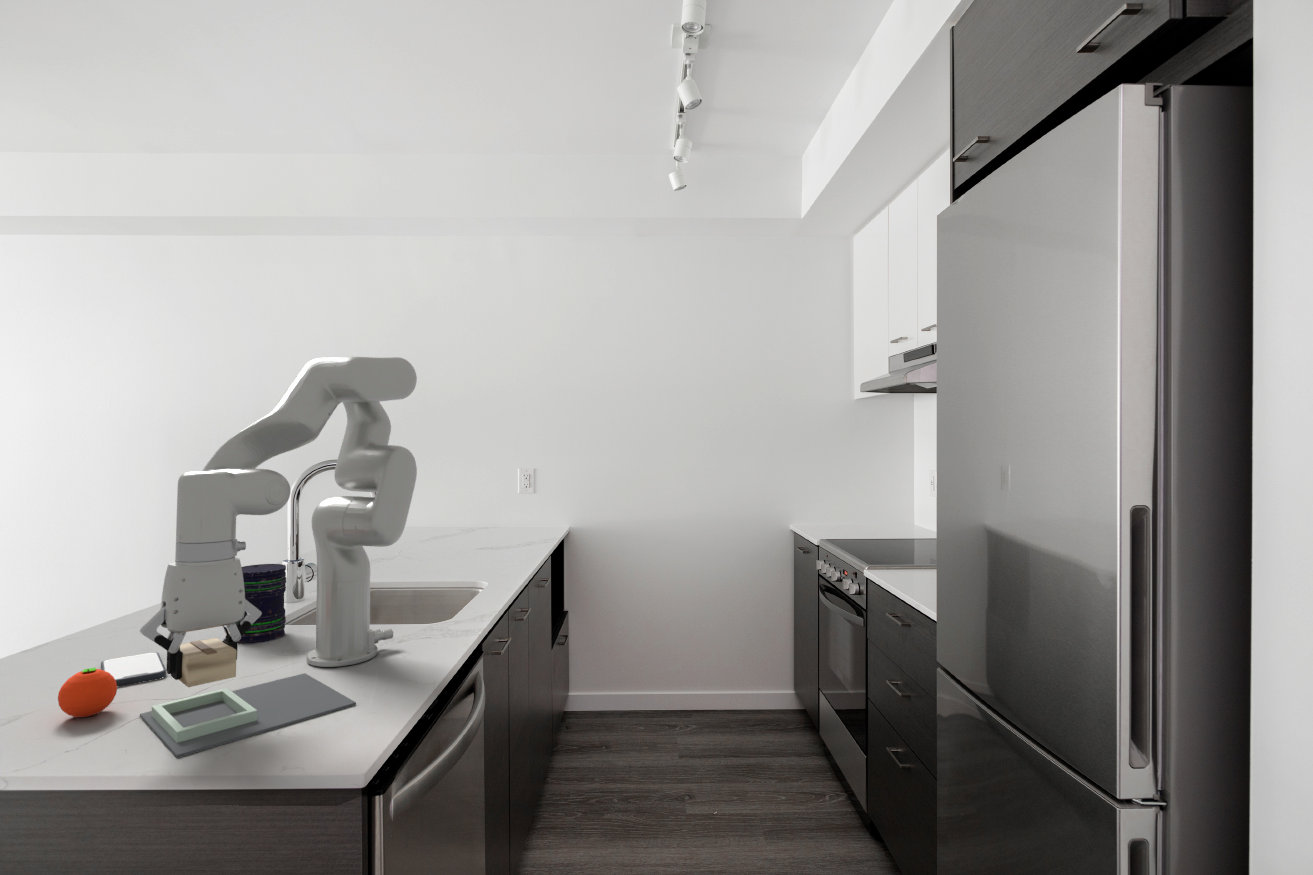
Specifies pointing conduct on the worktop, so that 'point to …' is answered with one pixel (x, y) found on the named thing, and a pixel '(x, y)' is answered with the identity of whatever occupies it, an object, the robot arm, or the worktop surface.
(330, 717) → the worktop surface
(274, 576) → the storage jar
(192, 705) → the tray frame
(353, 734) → the worktop surface
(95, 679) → the clementine
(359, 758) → the worktop surface
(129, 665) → the smartphone
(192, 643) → the wooden block
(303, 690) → the rubber mat
